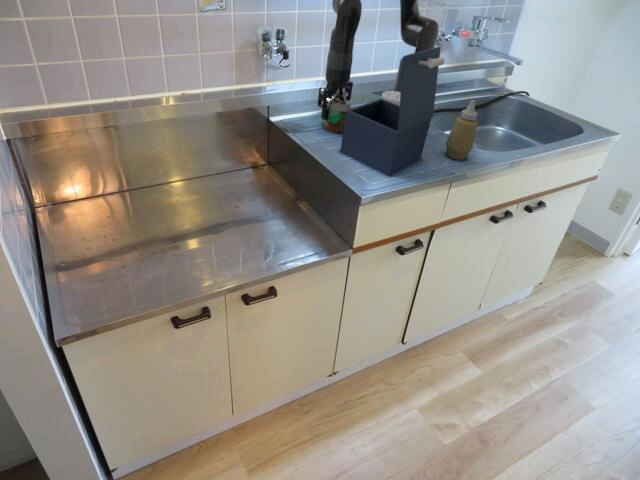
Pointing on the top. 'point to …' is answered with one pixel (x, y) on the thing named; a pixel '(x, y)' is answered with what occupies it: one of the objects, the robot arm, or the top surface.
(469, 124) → the squeeze bottle
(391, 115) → the dish tub
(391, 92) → the cup
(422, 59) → the tub lid
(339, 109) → the food container
